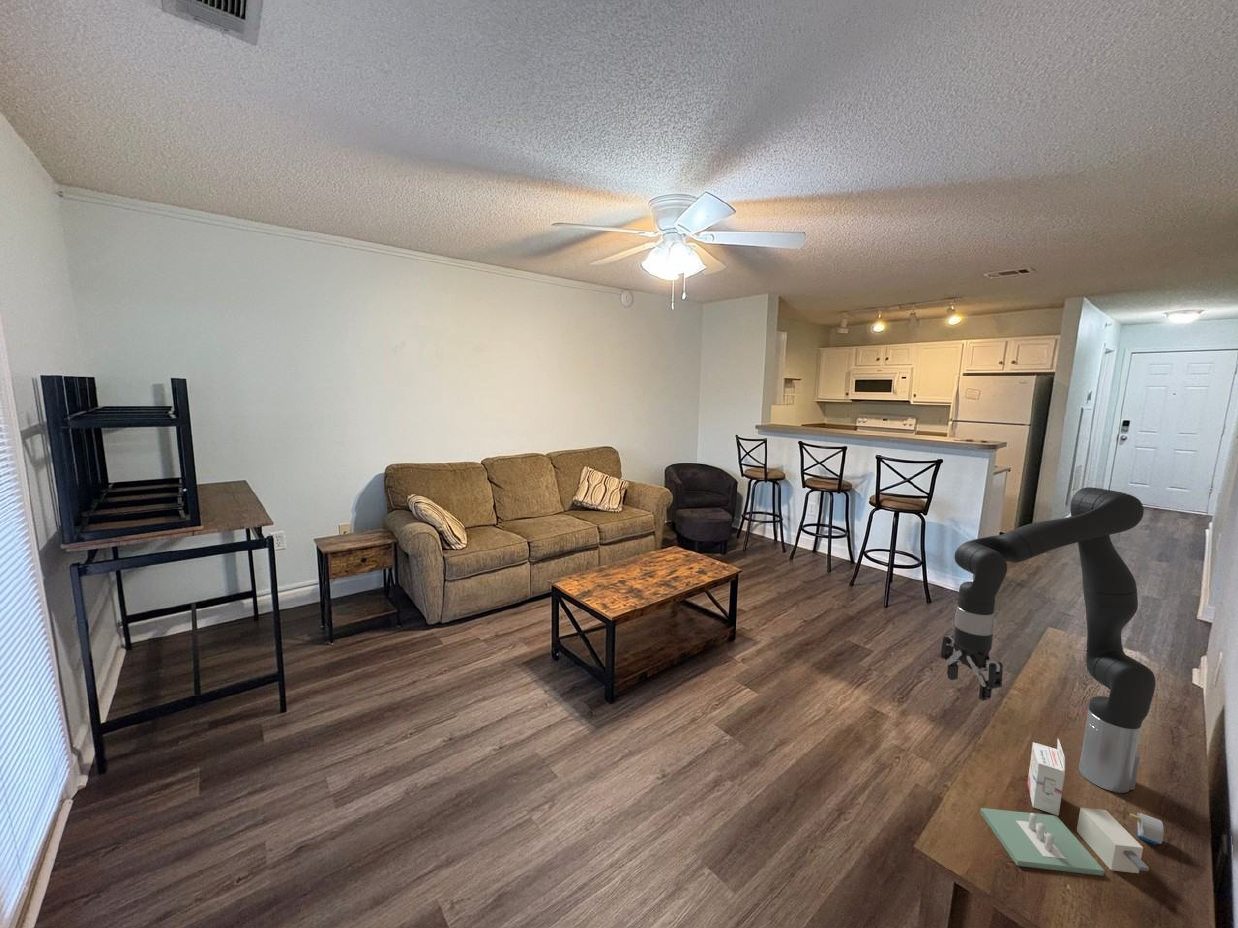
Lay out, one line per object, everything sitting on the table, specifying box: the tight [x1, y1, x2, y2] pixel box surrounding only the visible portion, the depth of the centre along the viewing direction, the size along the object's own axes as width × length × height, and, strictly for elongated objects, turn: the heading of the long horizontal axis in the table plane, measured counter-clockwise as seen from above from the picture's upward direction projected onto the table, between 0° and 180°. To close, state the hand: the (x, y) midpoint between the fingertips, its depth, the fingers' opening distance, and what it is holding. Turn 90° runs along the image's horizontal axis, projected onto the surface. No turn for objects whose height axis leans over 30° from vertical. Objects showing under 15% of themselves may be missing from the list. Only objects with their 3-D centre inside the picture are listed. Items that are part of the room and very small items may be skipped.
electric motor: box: [1129, 812, 1165, 846], centre depth 108 cm, size 7×5×5 cm
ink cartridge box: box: [1026, 738, 1066, 816], centre depth 117 cm, size 9×5×15 cm, turn 148°
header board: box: [979, 807, 1105, 876], centre depth 106 cm, size 16×13×5 cm
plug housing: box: [1076, 807, 1150, 874], centre depth 102 cm, size 5×12×6 cm, turn 173°
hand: (967, 688), depth 120 cm, fingers open, 8 cm apart
